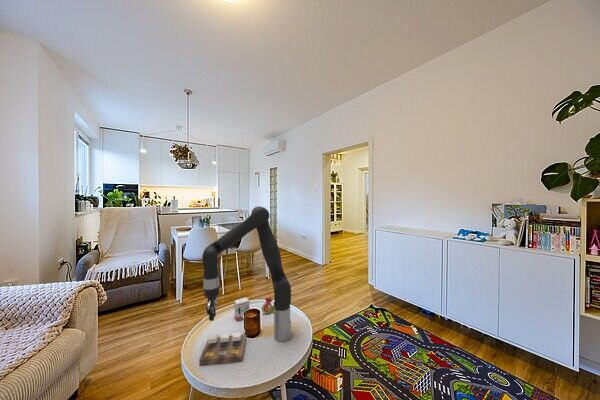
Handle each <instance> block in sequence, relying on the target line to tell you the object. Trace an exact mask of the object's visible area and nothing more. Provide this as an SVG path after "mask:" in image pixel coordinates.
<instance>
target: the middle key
mask: <svg viewBox="0 0 600 400" xmlns="http://www.w3.org/2000/svg"><path fill="white" fill-rule="evenodd" d="M230 336H231V333H230V332H224V333H221V336H220V337H221V338H220V342H228V341H229V338H230Z"/></svg>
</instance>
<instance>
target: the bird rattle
mask: <svg viewBox="0 0 600 400" xmlns="http://www.w3.org/2000/svg"><path fill="white" fill-rule="evenodd" d="M273 301H274V300H273V299H272V297H271V296H270V297H266V298H265V302H264V303H263V304H262V306H261V311H262V312H263V314H264V315H267V314H270V313H271V314H274V304H272V302H273Z"/></svg>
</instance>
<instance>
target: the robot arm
mask: <svg viewBox="0 0 600 400" xmlns="http://www.w3.org/2000/svg"><path fill="white" fill-rule="evenodd" d="M269 219H270V212H269V210H268V209H267V208H266V207H263V206H255V207H253V208H252V210H251V212H250V215H249V216H248V217H247V218H246V219H245V220H244V221H243V222H241V223H239V224H238V225H237V226H235V227H233V228H231V229H230V230H228V231H227V232H226V233H224V234H223V235H222V236H221V237H219V238H218V239H216V241H214V242H212V243H210V244H209V245H208V246H206V247H205V248H204V250H203V253H202V256H201V258H202V266H203V267H202V268H203V282H202V283H203V284H202V285H203V297H205V298H206V299H207V300H206V304H207V305H206V306H205V311H206V315H208V320H209V321H210V322H214V320H215V317H216V315H217V314H216V311H217V307H218V296H219V295H220V276H219V266H218V256H219V255H221V253H222V252H225V251H227V250H228V249H230V248H232V246H234V245H235V244H236V243H237V242H238V241H240V240H241V239H243V238H244V237H245V236H246V235H248V234H249V233H250V232H252V231H254V230H255V229H256V232H257V234H258V235H257V236H258V241H259V244H260V245H259V246H260V249H261V253H262V256H263V259H264V262H265V264H266V266H267V268H268V270H269V273H270V277H271V283H272V288H273V294H274V295H273V297H274V300H273V301H274V302H273V305H274V313H273V328H274V329H273V337H274V340H275V341H277V342H286V341H289V340H292V322H291V303H292V286H291V284H290V282H289V279H288V277H287V276H286V273H285V271H284V268H283V265H282V263H283V262H282V256H281V252H280V249H279V248H280V247H279V245H278V243H277V240H276V238H275V236H274V233H273V232H272V229H271V226H270V223H269Z"/></svg>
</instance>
